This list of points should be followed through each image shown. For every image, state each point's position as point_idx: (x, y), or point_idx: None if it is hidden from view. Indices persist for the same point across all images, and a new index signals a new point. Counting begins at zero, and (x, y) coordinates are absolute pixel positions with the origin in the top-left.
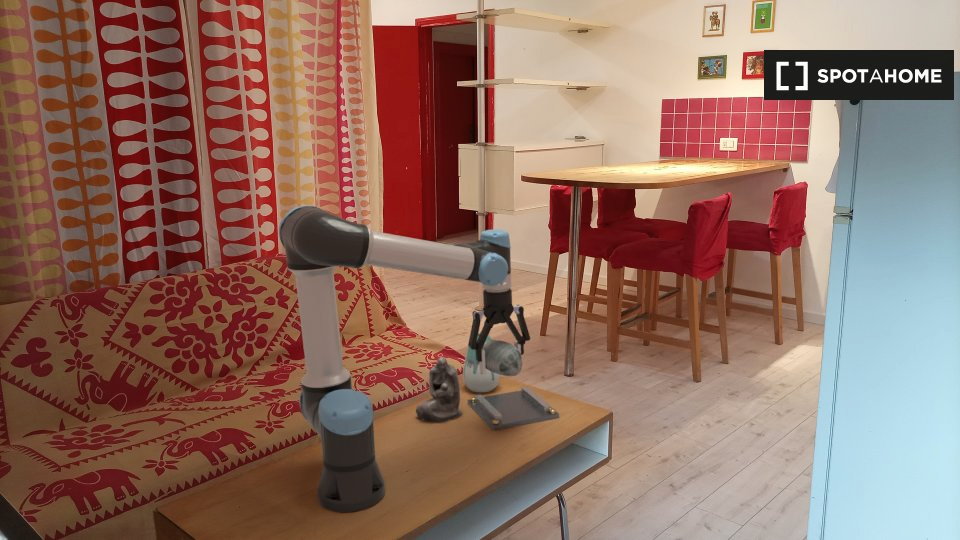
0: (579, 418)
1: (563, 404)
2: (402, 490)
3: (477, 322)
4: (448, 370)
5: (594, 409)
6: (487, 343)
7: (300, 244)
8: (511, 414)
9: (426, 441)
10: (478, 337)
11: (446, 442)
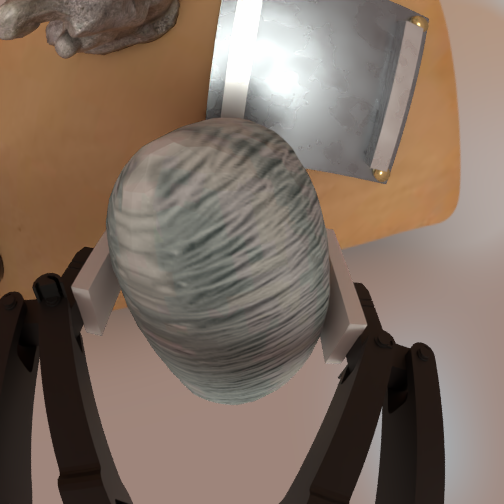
0: (407, 207)
1: (437, 131)
2: (19, 270)
3: (13, 496)
4: (61, 18)
5: (455, 192)
6: (139, 283)
7: None
8: (287, 117)
9: (51, 139)
10: (40, 356)
11: (84, 160)
